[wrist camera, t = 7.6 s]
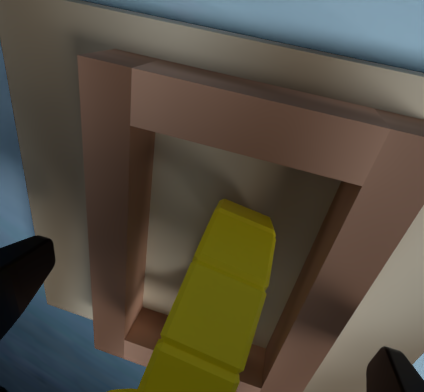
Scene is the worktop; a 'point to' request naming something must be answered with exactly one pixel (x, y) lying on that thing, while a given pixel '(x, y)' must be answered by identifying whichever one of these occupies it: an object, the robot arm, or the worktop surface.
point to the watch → (215, 306)
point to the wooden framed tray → (221, 182)
